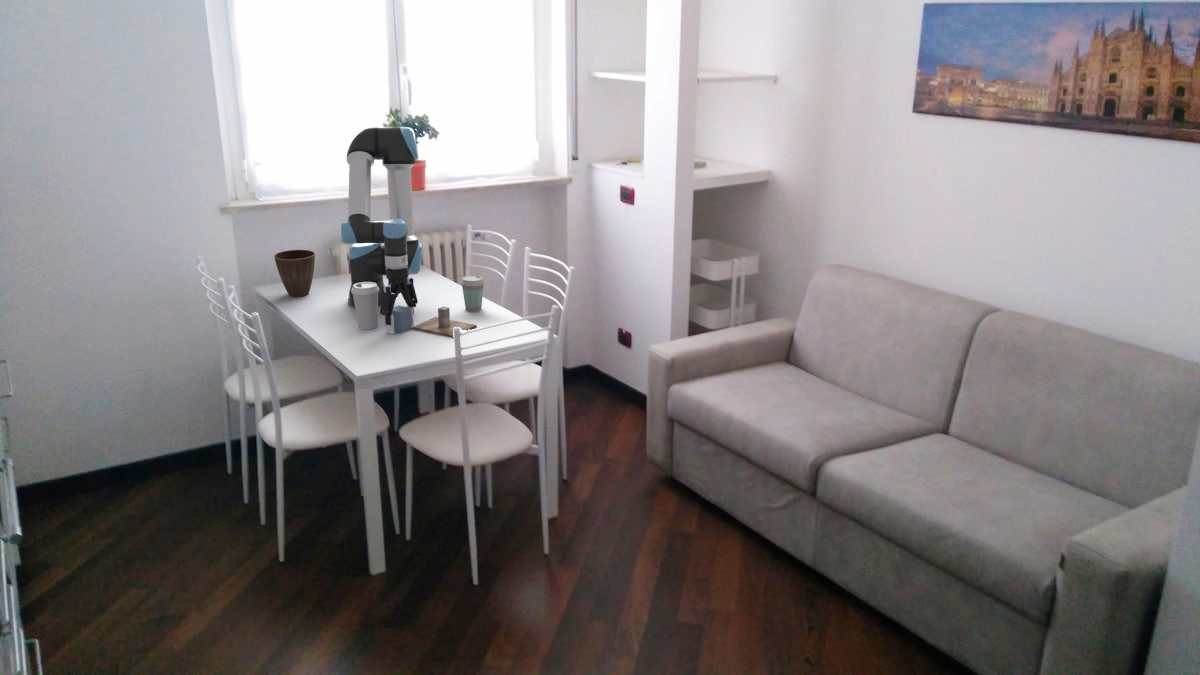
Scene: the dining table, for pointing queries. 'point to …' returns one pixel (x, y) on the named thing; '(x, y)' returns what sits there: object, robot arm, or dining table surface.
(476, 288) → the coffee cup
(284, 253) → the plant pot
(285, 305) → the dining table surface
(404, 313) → the slate blue box
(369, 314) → the coffee cup
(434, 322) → the post board
